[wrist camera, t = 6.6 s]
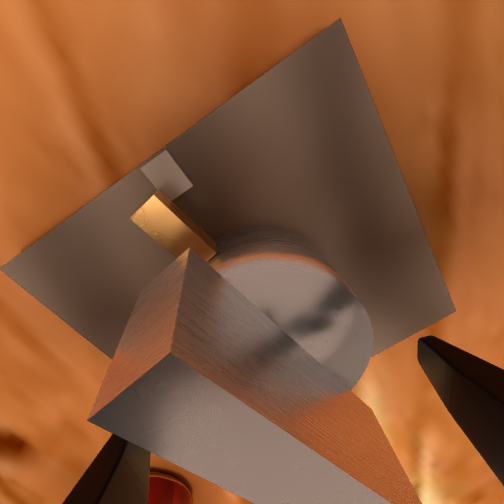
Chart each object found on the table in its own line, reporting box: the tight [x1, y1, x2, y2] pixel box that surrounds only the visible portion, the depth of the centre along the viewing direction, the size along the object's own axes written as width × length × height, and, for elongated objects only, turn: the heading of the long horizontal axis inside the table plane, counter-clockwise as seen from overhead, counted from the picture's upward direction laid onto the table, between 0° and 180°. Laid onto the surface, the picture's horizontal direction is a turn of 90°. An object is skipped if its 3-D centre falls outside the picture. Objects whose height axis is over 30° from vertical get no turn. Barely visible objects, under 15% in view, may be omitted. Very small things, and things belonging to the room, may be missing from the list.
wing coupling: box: [87, 188, 422, 504], centre depth 10 cm, size 12×7×8 cm, turn 41°
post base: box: [0, 18, 456, 359], centre depth 15 cm, size 16×15×2 cm
